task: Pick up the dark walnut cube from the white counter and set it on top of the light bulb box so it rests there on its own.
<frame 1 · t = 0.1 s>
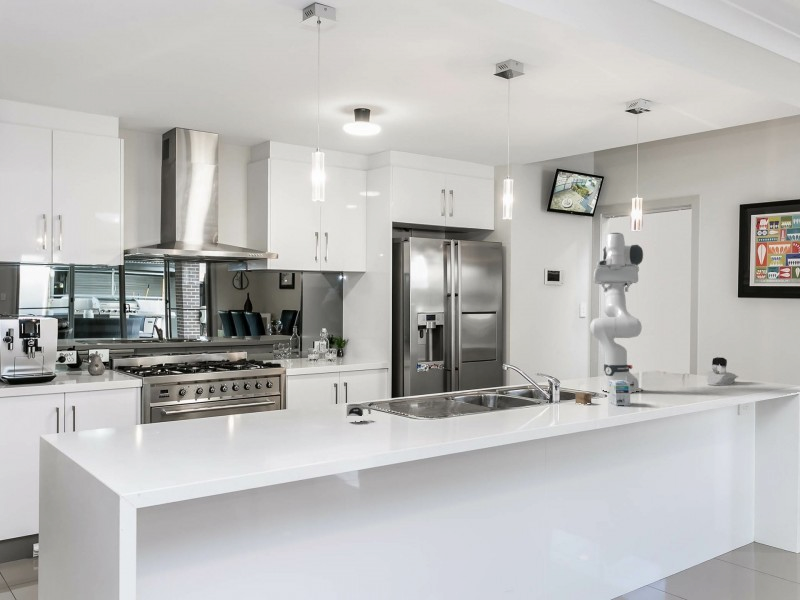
hand: (616, 291, 327), 52 cm above the countertop, tool tilted 20°, fingers open, 8 cm apart
light bulb box: (619, 404, 319), on the countertop
walnut cube: (583, 404, 321), on the countertop
mug: (358, 421, 281), on the countertop
iron: (721, 384, 392), on the countertop
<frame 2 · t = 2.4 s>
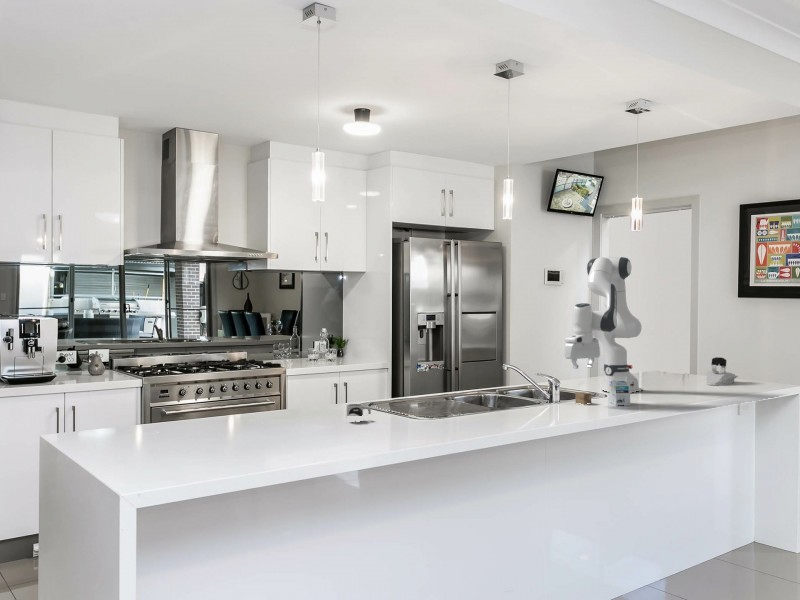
hand: (582, 368, 321), 17 cm above the countertop, tool pointing down, fingers open, 8 cm apart
nothing on the countertop moved.
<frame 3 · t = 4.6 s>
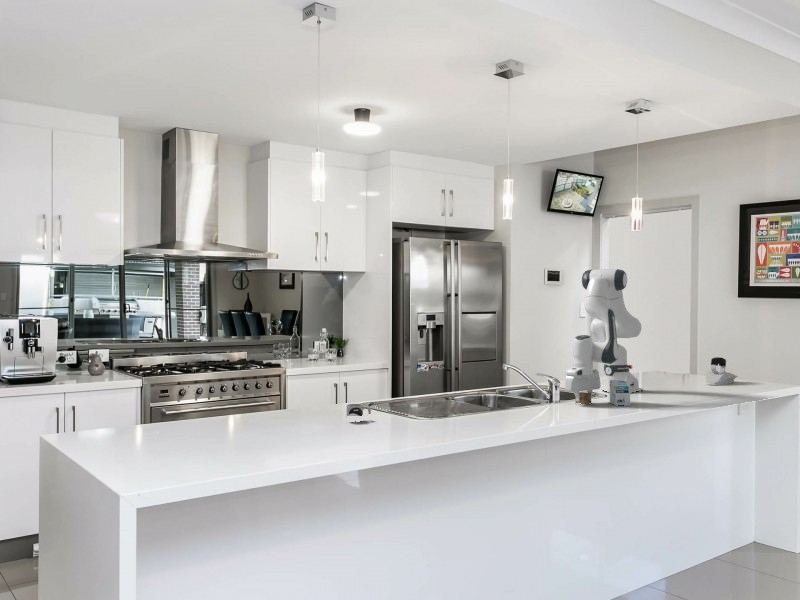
hand: (583, 400, 321), 2 cm above the countertop, tool pointing down, fingers closed on walnut cube, 5 cm apart
walnut cube: (583, 403, 321), on the countertop, touching gripper
everything else where it was.
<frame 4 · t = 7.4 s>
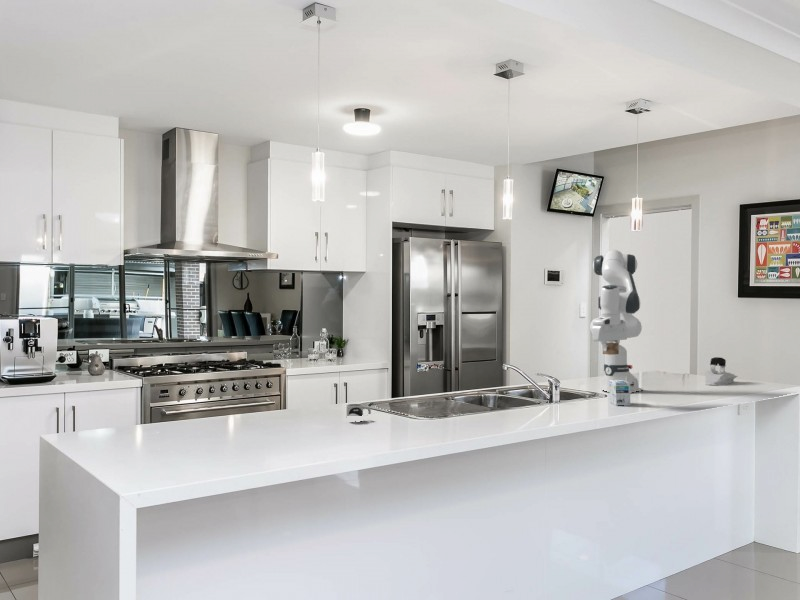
hand: (610, 350, 320), 25 cm above the countertop, tool pointing down, fingers closed on walnut cube, 5 cm apart
walnut cube: (610, 354, 320), point 23 cm above the countertop, touching gripper
everything else where it was.
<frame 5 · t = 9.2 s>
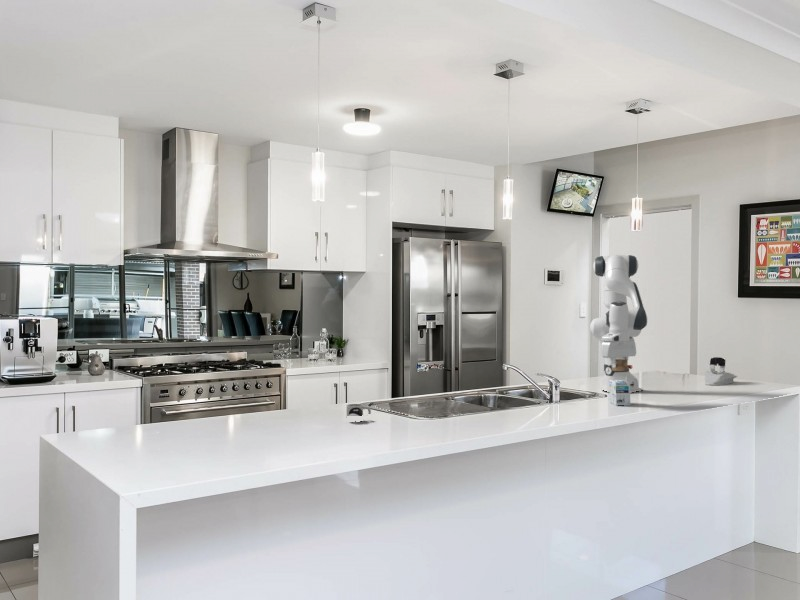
hand: (619, 367, 319), 17 cm above the countertop, tool pointing down, fingers closed on walnut cube, 5 cm apart
walnut cube: (619, 370, 319), point 16 cm above the countertop, touching gripper
everything else where it was.
when the fingers open (14 cm above the countertop, at t = 10.6 s): walnut cube drops 2 cm, resting on light bulb box.
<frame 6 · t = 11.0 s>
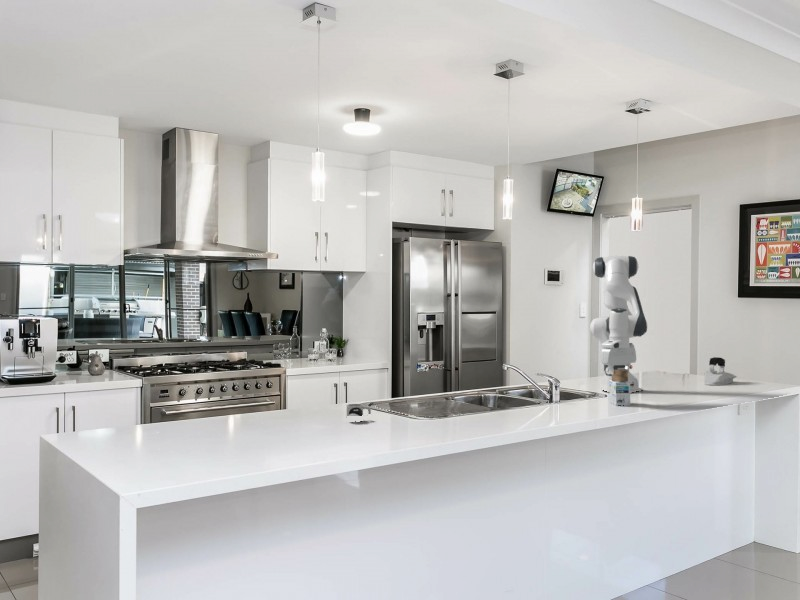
hand: (619, 373, 319), 14 cm above the countertop, tool pointing down, fingers open, 8 cm apart
light bulb box: (619, 404, 319), on the countertop, touching walnut cube
walnut cube: (619, 381, 319), point 11 cm above the countertop, touching light bulb box
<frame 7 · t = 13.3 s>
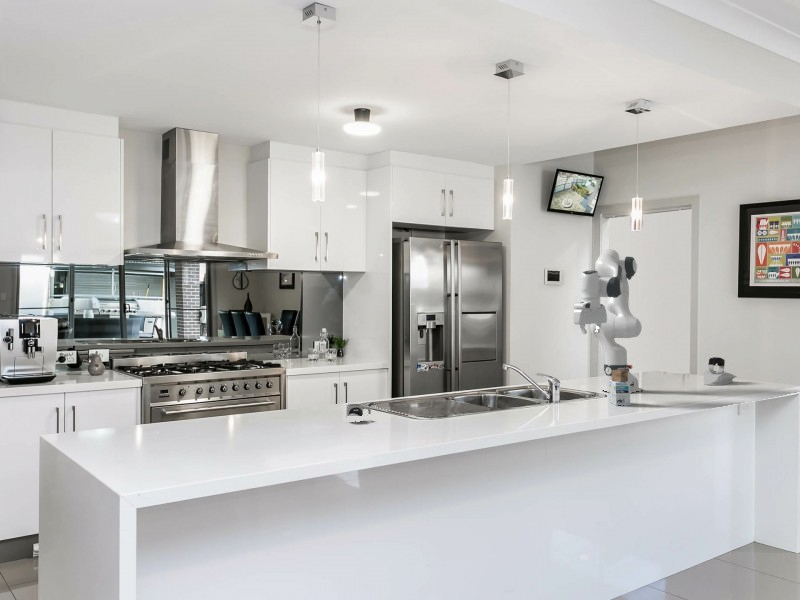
hand: (590, 333, 331), 32 cm above the countertop, tool pointing down, fingers open, 8 cm apart
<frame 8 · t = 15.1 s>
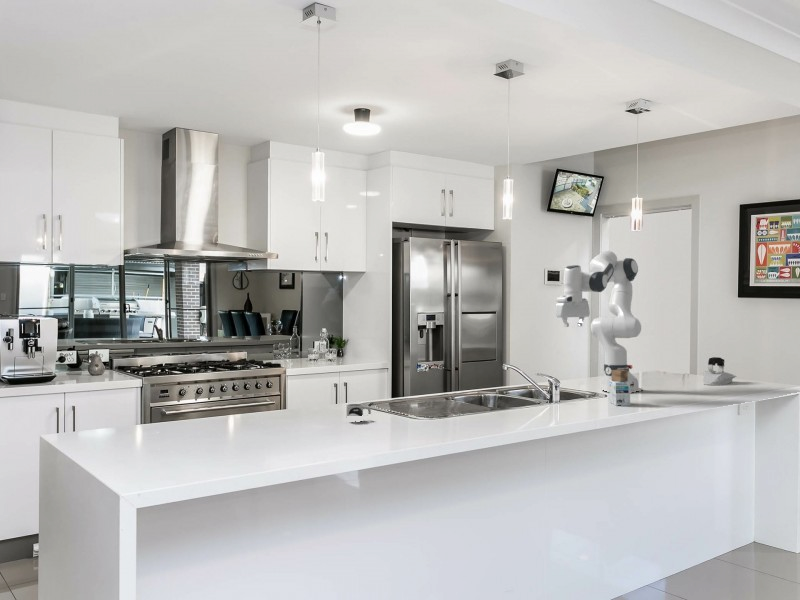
hand: (573, 326, 339), 35 cm above the countertop, tool pointing down, fingers open, 8 cm apart
at the end: walnut cube inside the target area on the light bulb box (0.1 cm from its centre), point 11.0 cm above the light bulb box's base; walnut cube point 10.7 cm above the countertop; the gripper is holding nothing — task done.
